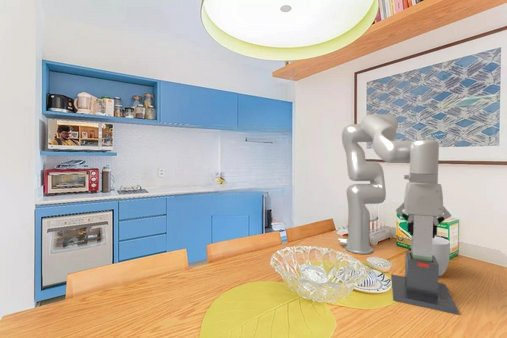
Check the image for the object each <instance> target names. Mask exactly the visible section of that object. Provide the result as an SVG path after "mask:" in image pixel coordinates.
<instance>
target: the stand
mask: <svg viewBox="0 0 507 338" xmlns="http://www.w3.org/2000/svg"><path fill="white" fill-rule="evenodd" d="M404 256H405V257H404V258H405V260H404V261H405V262H404V264H405V266H404V268H405V269H404V276H403V275H399V274H390V275H391V277H390V279H391V280H390V281H392V282H391V291H392V292H391V294H392V301H395V302H400V303H403V304H408V305H414V306H417V307H422V308H427V309H430V310H436V311H440V312H445V313H449V314H452V315H453V314H454V315H458V314H459V308H458V306H457V305H456V302H455V300H454V298H453V297H452V295H451V293H450V291H449V289H448V287H447V285H446V284H445V283H442V282H439V277H440V276H439V264H438V262H437V260H436V259H435V257H434V255H432V262H426V261H419V260H413V259H411V251H405V255H404ZM438 276H439V277H438Z"/></svg>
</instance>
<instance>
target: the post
mask: <svg viewBox="0 0 507 338" xmlns="http://www.w3.org/2000/svg"><path fill="white" fill-rule="evenodd" d="M412 221H413V236H411V245H410V246H411V247H410V252H411V259H413V260H419V261H426V262H432V242H433V216H423V215H414V217H413V220H412Z"/></svg>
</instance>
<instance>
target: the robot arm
mask: <svg viewBox="0 0 507 338" xmlns="http://www.w3.org/2000/svg"><path fill="white" fill-rule="evenodd" d="M398 126H399V122H398V119H397V118H396V117H395V116H394V115H392V114H389V113H388V114H387V113H386V114H383V113H382V114H379V113H375V114H374V113H372V114H368V115H366V116H364V117H363V118H361V121H360V123H354V124H353V123H352V124H348V125H346V126H345V127H344V128H343V130H342V134H341V142H342V146H343V149H344V151H345V157H346V166H347V168H346V169H347V175H348V178H349V179H350V180H351V181H353V182H370V183H354V184H350V185H349V186H348V187H347V188H346V199H347V207H348V209H347V213H348V220H347V221H348V225H347V226H348V227H347V232H348V233H347V238H340V237H339V238H338V243H340V244H343V245H344V249H345V250H346V251H347V252H350V253H354V254H358V255H368V254H371V253H374V249H373V247H372V246H370V241H371V240H370V236H371V235H370V233H371V232H370V231H371V226H370V225H371V223H370V222H371V214H370V211H369V209H368V208H367V206H366V205H368V204H370V205H373V204H376V205H377V204H382V203H384V201H386V197H387V192H386V183H385V182H386V181H385V172H384V169H383V166H382V165H381V163H379V162H377V161H367V160H366V152H365V151H364V148H363V147H362V146H361V145H360V144H359V143H372V149H373V152H374V153H375V154H376V156H378V157H379V158H380V159H381V160H382V161H383V162H386V163H388V164H389V163H392V164H393V163H395V164H396V163H397V164H399V163H405V164H409V173H408V174H404V176H403V177H404V178H403V179H404V180H408V182H406V184H405V191H404V198H403V199H404V200H403V202H402V203H401V204H400V205H399V206H398V207H397V208H396V209H395V212H396V214H398V215H399V216H401V217H402V218H403V219H404V220H405V221H406V222H407V233H409V234H410V236H411V237H412V236H413V221H412V220H413V217H414V215H423V216H433V238H435V236H437V235H438V226H439V225H440V224H441V223H443V222H444V221H445V220H447V219H449V218H451V217H452V214H451V212H449V211H448V210H447V208H446V207H445V206H444V196H443V187H442V184H441V183H439V182H438V181H439V157H440V156H439V154H440V153H439V152H440V151H439V148H440V144H439V142H438V140H435V139H416V140H395V139H396V137H397V129H398ZM403 210H404V211H403Z"/></svg>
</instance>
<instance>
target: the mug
mask: <svg viewBox="0 0 507 338" xmlns="http://www.w3.org/2000/svg"><path fill="white" fill-rule="evenodd" d="M432 255H434V257H435V259H436V260H437V262H438V264H439V276H438V278H439V277H442V276H443V275H444V274H445V273H446V271H447V269H448V266H449V264H450V263H449V262H450V256H451V242H450V240H448V239H446V238H443V237H439V236H437V235H435V238H433V242H432Z"/></svg>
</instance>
